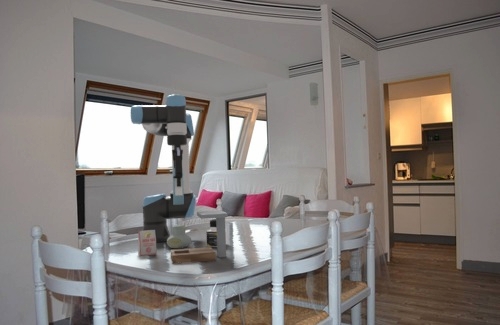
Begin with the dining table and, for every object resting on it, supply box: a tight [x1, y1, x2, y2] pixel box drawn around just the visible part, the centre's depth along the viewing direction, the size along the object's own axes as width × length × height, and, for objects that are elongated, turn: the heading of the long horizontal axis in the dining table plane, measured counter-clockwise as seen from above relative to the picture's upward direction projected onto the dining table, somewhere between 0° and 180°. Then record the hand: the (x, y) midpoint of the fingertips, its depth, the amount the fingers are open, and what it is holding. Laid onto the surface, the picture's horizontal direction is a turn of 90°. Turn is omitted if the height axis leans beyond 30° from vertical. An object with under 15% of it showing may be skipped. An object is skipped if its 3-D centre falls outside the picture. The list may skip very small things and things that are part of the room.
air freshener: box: [166, 224, 192, 250], centre depth 179 cm, size 11×8×10 cm
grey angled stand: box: [196, 209, 229, 258], centre depth 155 cm, size 14×10×18 cm
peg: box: [172, 168, 184, 205], centre depth 153 cm, size 4×4×14 cm
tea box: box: [137, 230, 157, 257], centre depth 165 cm, size 4×7×10 cm, turn 115°
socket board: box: [170, 246, 216, 265], centre depth 153 cm, size 12×16×3 cm
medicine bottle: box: [205, 218, 228, 248], centre depth 181 cm, size 7×7×12 cm
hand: (178, 195), depth 153 cm, fingers closed on peg, 4 cm apart
